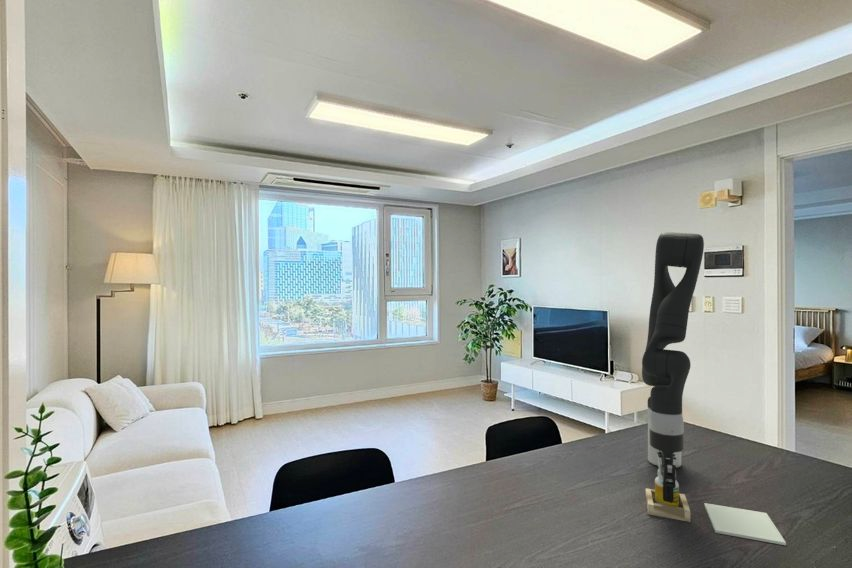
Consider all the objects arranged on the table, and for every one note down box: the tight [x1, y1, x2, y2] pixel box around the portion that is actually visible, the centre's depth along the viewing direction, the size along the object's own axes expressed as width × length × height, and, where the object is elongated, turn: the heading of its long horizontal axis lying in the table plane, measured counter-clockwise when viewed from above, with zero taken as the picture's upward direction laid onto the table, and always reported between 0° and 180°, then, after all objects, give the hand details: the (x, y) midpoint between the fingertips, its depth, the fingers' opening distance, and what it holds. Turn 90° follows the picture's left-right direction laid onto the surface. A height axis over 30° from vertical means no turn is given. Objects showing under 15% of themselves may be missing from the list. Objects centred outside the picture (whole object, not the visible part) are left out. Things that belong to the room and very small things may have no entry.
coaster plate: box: [703, 502, 787, 546], centre depth 103 cm, size 13×13×1 cm
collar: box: [645, 487, 691, 523], centre depth 110 cm, size 9×9×2 cm
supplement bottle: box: [654, 468, 680, 507], centre depth 110 cm, size 5×5×10 cm
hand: (666, 495), depth 110 cm, fingers closed on supplement bottle, 5 cm apart
